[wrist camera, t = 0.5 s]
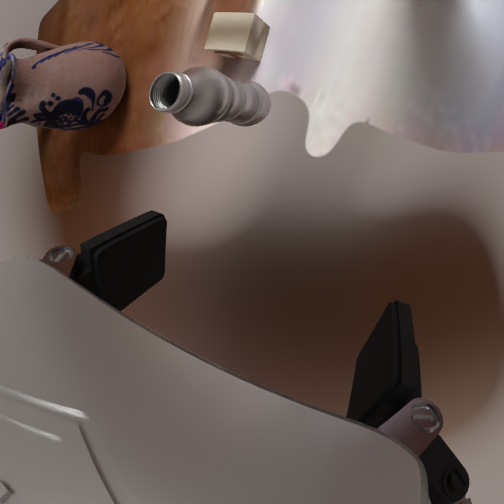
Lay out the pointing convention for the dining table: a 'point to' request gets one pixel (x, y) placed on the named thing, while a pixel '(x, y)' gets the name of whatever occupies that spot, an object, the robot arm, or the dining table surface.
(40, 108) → the ceramic pitcher
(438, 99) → the dining table surface
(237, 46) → the beige cube
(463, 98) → the dining table surface
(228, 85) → the silver metal bottle
